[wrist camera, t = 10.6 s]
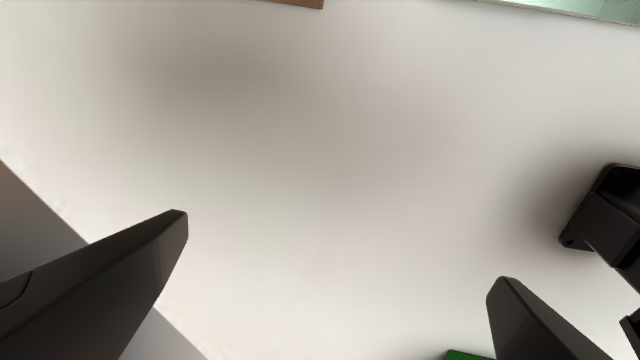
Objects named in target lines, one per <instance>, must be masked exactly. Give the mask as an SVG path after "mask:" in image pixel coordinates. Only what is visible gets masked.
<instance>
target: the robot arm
mask: <svg viewBox="0 0 640 360" xmlns="http://www.w3.org/2000/svg"><path fill="white" fill-rule="evenodd" d="M615 170H616V172H615V173H613V172H614V171H615ZM612 173H613V174H612ZM187 240H188V216H187V213H186V212H184V211H180V210H175V209H171V210H169V211H166V212H164V213H162V214H159V215H157V216H155V217H152V218H150V219H148V220H145V221H143V222H141V223H138V224H136V225H134V226H131V227H129V228H127V229H124V230H122V231H120V232H117V233H115V234H113V235H110V236H108V237H106V238H103V239H101V240H99V241H96V242H94V243H92V244H89V245H87V246H85V247H82V248H80V249H78V250H75V251H73V252H71V253H68V254H66V255H64V256H61V257H59V258H57V259H54V260H52V261H50V262H47V263H45V264H43V265H41V266H38V267H36V268H34V269H33V270H29V271H26V272H24V273H21V274H19V275H17V276H15V277H12V278H10V279H7V280H5V281H2V282H0V360H118V359H119V358H120V356H121V355H122V353H123V352H124V350H125V348H126V347H127V345H128V343H129V342H130V340H131V339H132V337H133V336H134V334H135V333H136V331H137V330H138V328H139V326H140V325H141V323H142V322H143V320H144V319H145V317H146V316H147V314H148V312H149V311H150V309H151V308H152V306H153V305H154V303H155V302H156V300H157V298H158V297H159V295H160V294H161V292H162V290H163V289H164V287H165V285H166V283H167V281H168V279H169V277H170V275H171V273H172V271H173V269H174V267H175V265H176V263H177V261H178V259H179V257H180V255H181V253H182V251H183V249H184V247H185V245H186V242H187ZM567 240H568V241H567ZM559 242H560V243H561V244H562V245H563V246H564V247H566V248H572V249H579V250H585V251H591V252H596V253H597V254H598V255H599V256H600V257H601V258H602V259H603V260H604V261H605V262H606V263H607V264H608V265H609V266H610V267H611V268H614V269H615V270H616V271H617V272H618V273H619V274H620V275H621V276H622V277H623V278H624V279H625V280H626V281H627V282H628V283H629V284H630V285H631V286H632V287H633V288H634V289H635V290H636V291H637V292H638V293H639V294H640V167H635V166H629V165H623V164H617V163H613V164H610V165H608V166H606V167H605V169H604V170H603V171H602V173H601V174H600V176H599V177H598V179H597V180H596V182H595V184H594V185H593V187H592V188H591V190H590V191H589V193H588V194H587V196H586V197H585V199H584V200H583V202H582V203H581V205H580V206H579V208H578V209H577V211H576V213H575V214H574V216H573V217H572V219H571V220H570V222H569V223H568V225H567V226H566V228H565V229H564V231H563V232H562V234H561V235H560V237H559ZM486 307H487V312H488V317H489V323H490V328H491V333H492V339H493V344H494V349H495V354H496V358H497V360H613V359H612V358H611V357H610V356H609V355H607V354H606V353H605V352H604V351H603V350H601V349H600V348H599V347H598V346H597V345H595V344H594V343H593V342H592V341H590V340H589V339H588V338H587V337H586V336H584V335H583V334H582V333H581V332H580V331H578V330H577V329H576V328H575V327H574V326H572V325H571V324H570V323H569V322H568V321H566V320H565V319H564V318H563V317H562V316H560V315H559V314H558V313H557V312H556V311H554V310H553V309H552V308H551V307H550V306H548V305H547V304H546V303H545V302H544V301H542V300H541V299H540V298H539V297H538V296H536V295H535V294H534V293H533V292H532V291H530V290H529V289H528V288H527V287H526V286H524V285H523V284H522V283H521V282H520V281H518V280H517V279H515V278H510V277H506V276H500V277H499V278H497V280H496V281H495V283H494V285H493V286H492V288H491V290H490V291H489V293H488V294H487V297H486ZM619 323H620V325H621V327H622V329H623V331H624V332H625V334H626V336H627V338H628V340H629V342H630V344H631V346H632V348H633V349H634V351H635V353H636V355H637V357H638V359H639V360H640V308H638V309H637V310H636V311H635V312H633V313H632V314H631V315H630V316H627V315H626V316H625V317H624V318H623V319H621V320H620V321H619Z"/></svg>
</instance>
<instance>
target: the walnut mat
mask: <svg viewBox="0 0 640 360" xmlns="http://www.w3.org/2000/svg"><path fill="white" fill-rule="evenodd" d="M267 1H273V2H280V3H286V4H292V5H298V6H304V7H311V8H317V9H323V1H324V0H267Z"/></svg>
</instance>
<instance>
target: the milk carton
mask: <svg viewBox="0 0 640 360" xmlns="http://www.w3.org/2000/svg"><path fill="white" fill-rule="evenodd" d="M443 360H492V359H488V358H483V357H479V356H474V355H469V354H465V353H460V352H456V351H451V350H450V351H449V352H448V354H447V355H446V356H445V358H444V359H443Z"/></svg>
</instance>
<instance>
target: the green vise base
mask: <svg viewBox="0 0 640 360" xmlns="http://www.w3.org/2000/svg"><path fill="white" fill-rule="evenodd" d="M476 1H483V2H489V3H495V4H501V5H507V6H514V7H520V8H526V9H532V10H538V11H545V12H551V13H557V14H563V15H569V16H576V17H582V18H588V19H594V20H600V21H607V22H613V23H619V24H625V25H631V26H638V27H640V0H476Z"/></svg>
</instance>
